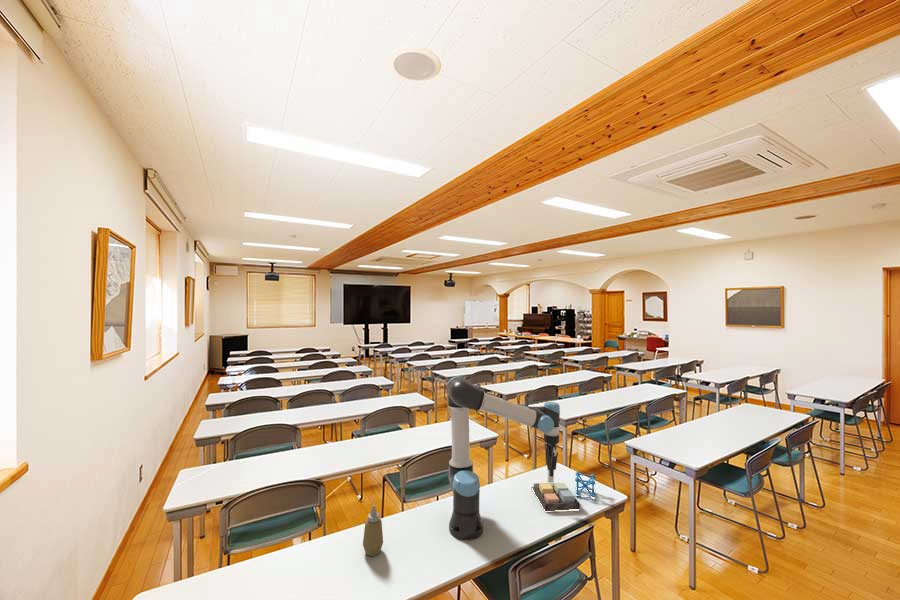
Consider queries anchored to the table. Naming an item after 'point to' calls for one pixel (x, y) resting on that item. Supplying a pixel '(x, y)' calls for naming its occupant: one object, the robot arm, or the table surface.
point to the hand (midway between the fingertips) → (550, 481)
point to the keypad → (554, 506)
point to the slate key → (567, 496)
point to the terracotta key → (551, 498)
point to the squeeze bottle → (373, 534)
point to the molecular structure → (585, 485)
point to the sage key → (560, 487)
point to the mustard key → (546, 488)
